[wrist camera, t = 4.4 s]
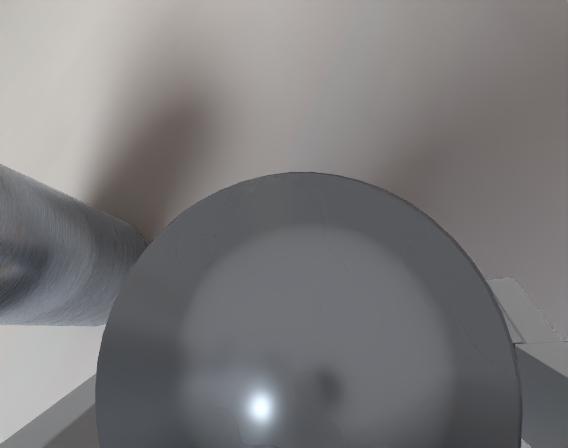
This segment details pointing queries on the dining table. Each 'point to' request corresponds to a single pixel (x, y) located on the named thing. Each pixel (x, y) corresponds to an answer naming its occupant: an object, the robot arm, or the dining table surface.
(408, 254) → the cylinder
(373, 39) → the dining table surface
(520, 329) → the robot arm
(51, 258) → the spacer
